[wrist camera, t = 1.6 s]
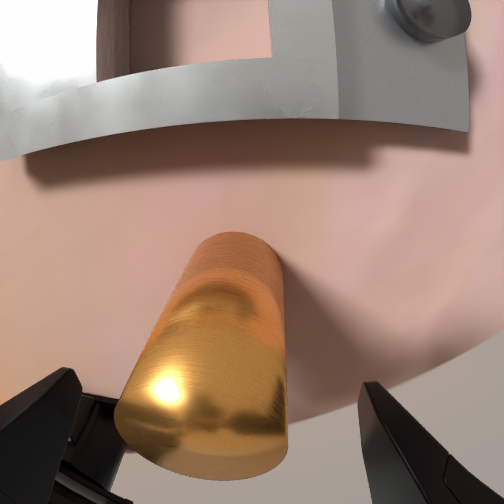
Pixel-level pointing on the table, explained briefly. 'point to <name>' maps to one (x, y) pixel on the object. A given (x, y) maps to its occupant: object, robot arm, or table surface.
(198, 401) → the gold metallic cylinder
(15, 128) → the grey panel with knob
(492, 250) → the table surface
